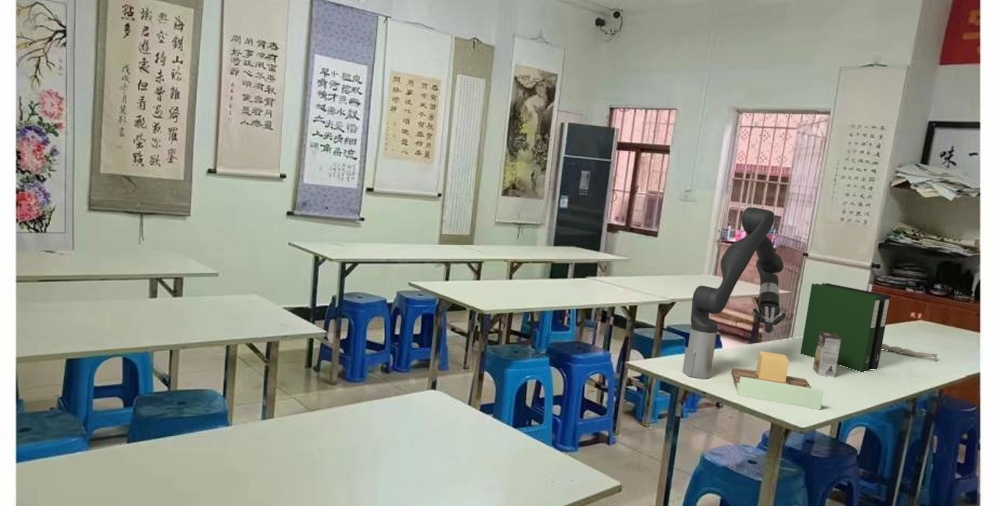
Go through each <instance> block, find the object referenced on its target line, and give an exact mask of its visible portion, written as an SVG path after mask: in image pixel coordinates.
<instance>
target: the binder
mask: <svg viewBox="0 0 994 506" xmlns="http://www.w3.org/2000/svg"><path fill="white" fill-rule="evenodd" d="M810 286H811V287H810V292H809V299H808V305H807V312H806V315H805V316H806V318H805V324H804V329H803V336H802V342H801V347H800V348H801V349H800V355H802V354H804V355H803V356H805V355H807V356H806V357H809V356H811V357H810V358H812V357H814V358H813V359H815V353H816V347H817V341H818V335H819V332H828V333H835V334H836V335H838V336H839V337H840V338H841V343H840V349H839V354H838V360H837V364H838V365H842V366H845V367H848V368H851V369H850V370H852V369H854V370H853V371H855V370H857V371H856V372H858V371H860V372H859V373H861V372H863V373H865V372H864V371H867V372H869V369H876V370H878V369H879V364H880V358H881V353H882V350H881V348H882V344H883V341H884V336H885V330H886V325H887V321H888V320H887V319H888V313H889V309H890V301H891V297H892V296H891V294H884V293H879V292H875V291H874V292H873V291H870V290H869V291H868V290H864V289H858V288H854V287H848V286H844V285H838V284H833V283H828V282H827V283H824V282H822V283H821V284H820V283H811V285H810ZM838 365H837V366H838ZM842 366H841V367H842ZM845 367H844V368H845ZM848 368H847V369H848ZM877 368H878V369H877Z"/></svg>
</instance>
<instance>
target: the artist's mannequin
mask: <svg viewBox="0 0 994 506" xmlns="http://www.w3.org/2000/svg"><path fill="white" fill-rule="evenodd" d="M881 349H884V350H890V351H889V352H892V351H894V352H898V354H900V353H901V354H905V355H907V354H909V355H908V356H912V355H913V356H912V357H914V356H915V357H918V356H919V358H920V357H922V358H925V357H926V358H933V359H934V360H933V361H934V362H935V361H936V362H937V358H938V353H927V352H919V351H918V352H915V351H914V350H911V349H908V348H902V347H900V346H890V345H888V344H886V343H882V348H881ZM894 352H893V353H894Z"/></svg>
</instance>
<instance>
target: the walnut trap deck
mask: <svg viewBox="0 0 994 506" xmlns="http://www.w3.org/2000/svg"><path fill="white" fill-rule="evenodd" d="M730 374H731V378H732V381H733V380H734V381H733V383H734V387H737V383H739V382H740V377H746V378H753V379H759V380H765V381H771V382H777V383H783V384H789V385H795V386H801V387H807V388H812V386H811V384H810V383H809V381H807V379H806V378H801V377H796V376H789V375H787V376H786V382H779V381H773V380H767V379H761V378H759V377H758V375H757V372H756V370H752V369H746V368H742V367H734V366H732V367H731V372H730Z"/></svg>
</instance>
